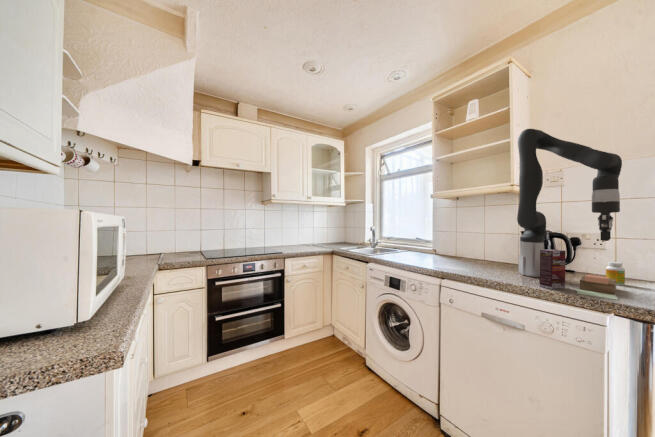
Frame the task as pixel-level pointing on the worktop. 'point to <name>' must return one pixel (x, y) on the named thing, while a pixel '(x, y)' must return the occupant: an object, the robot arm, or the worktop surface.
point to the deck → (598, 286)
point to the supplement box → (552, 268)
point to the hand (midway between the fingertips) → (605, 240)
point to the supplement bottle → (616, 272)
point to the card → (597, 279)
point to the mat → (597, 294)
